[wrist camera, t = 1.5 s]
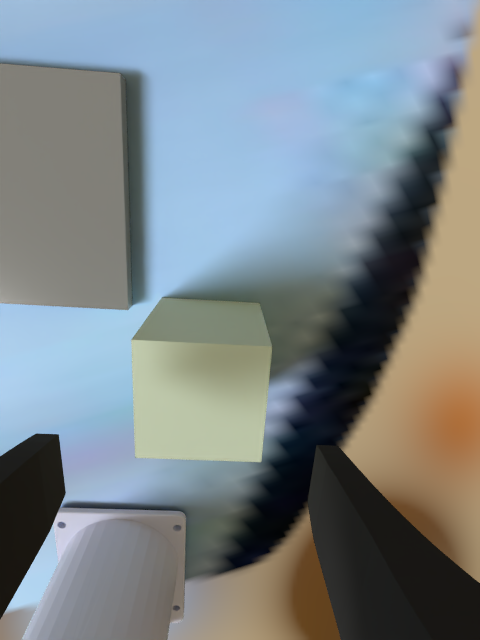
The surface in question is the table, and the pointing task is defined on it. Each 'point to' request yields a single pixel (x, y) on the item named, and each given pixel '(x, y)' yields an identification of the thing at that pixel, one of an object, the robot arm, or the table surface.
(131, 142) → the table surface
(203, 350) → the block
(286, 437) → the table surface
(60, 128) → the coaster
